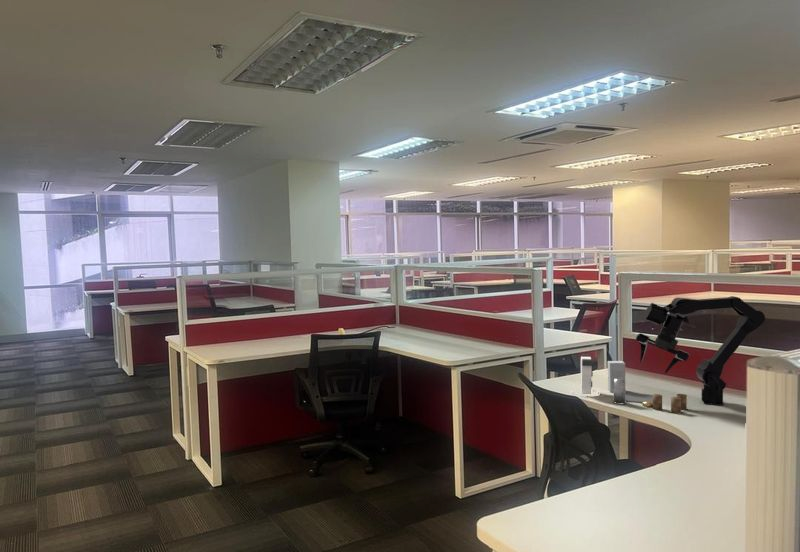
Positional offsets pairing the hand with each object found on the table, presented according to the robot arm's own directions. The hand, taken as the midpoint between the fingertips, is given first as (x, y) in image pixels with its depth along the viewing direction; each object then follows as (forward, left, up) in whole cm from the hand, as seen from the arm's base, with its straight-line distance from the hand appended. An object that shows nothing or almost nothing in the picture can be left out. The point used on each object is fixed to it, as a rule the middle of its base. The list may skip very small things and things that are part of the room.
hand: (652, 367), depth 216 cm
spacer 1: (-2, +9, -13) cm, 16 cm away
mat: (+5, -3, -13) cm, 14 cm away
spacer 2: (-8, +11, -13) cm, 19 cm away
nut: (+1, +6, -13) cm, 15 cm away
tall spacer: (+11, +5, -13) cm, 18 cm away
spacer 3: (-10, +6, -13) cm, 17 cm away
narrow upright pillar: (+24, -4, -13) cm, 28 cm away
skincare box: (+13, -12, -13) cm, 22 cm away
